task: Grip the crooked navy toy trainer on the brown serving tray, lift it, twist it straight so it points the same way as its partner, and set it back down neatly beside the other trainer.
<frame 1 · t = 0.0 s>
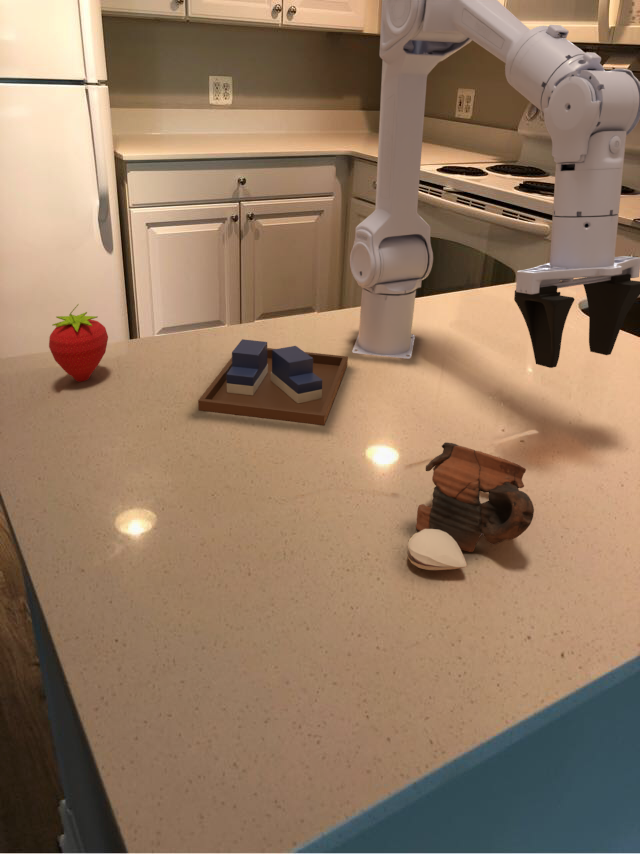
hand: (573, 359, 70), 11 cm above the counter, tool pointing down, fingers open, 7 cm apart
trainer: (295, 389, 84), point 1 cm above the counter, touching brown serving tray
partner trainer: (247, 382, 86), point 1 cm above the counter, touching brown serving tray
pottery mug: (473, 529, 62), on the counter
white teardrop shell: (436, 566, 57), on the counter
strawberry: (84, 384, 85), on the counter
brown serving tray: (278, 390, 85), on the counter
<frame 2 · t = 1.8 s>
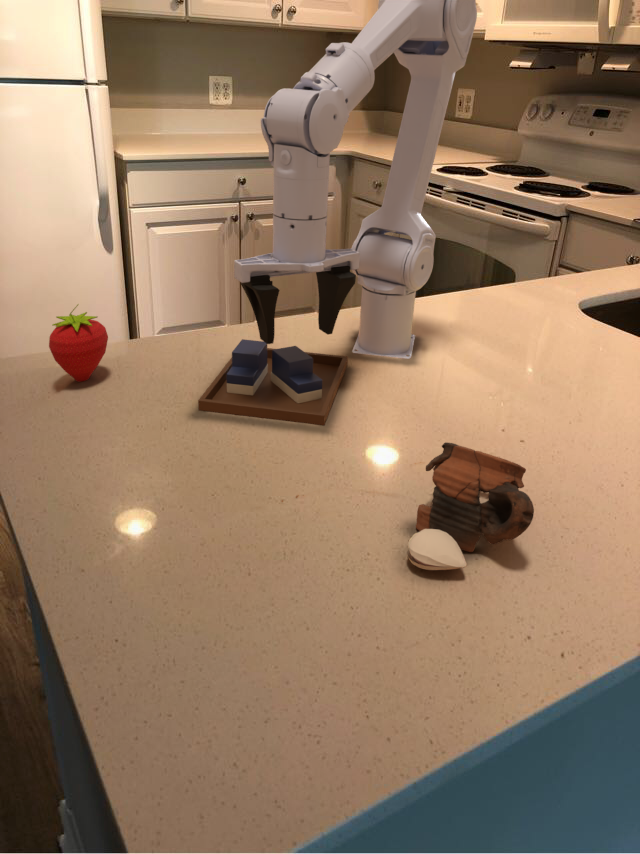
hand: (296, 336, 81), 7 cm above the counter, tool pointing down, fingers open, 7 cm apart
nothing on the counter moved.
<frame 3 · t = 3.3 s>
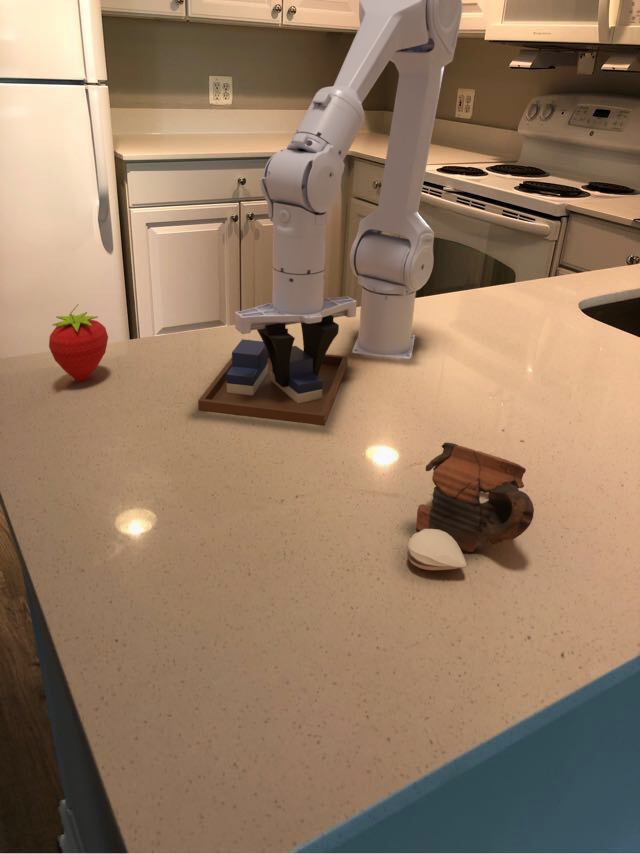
hand: (295, 381, 84), 2 cm above the counter, tool pointing down, fingers closed on trainer, 3 cm apart
trainer: (295, 389, 84), point 1 cm above the counter, touching gripper, brown serving tray
everything else where it was.
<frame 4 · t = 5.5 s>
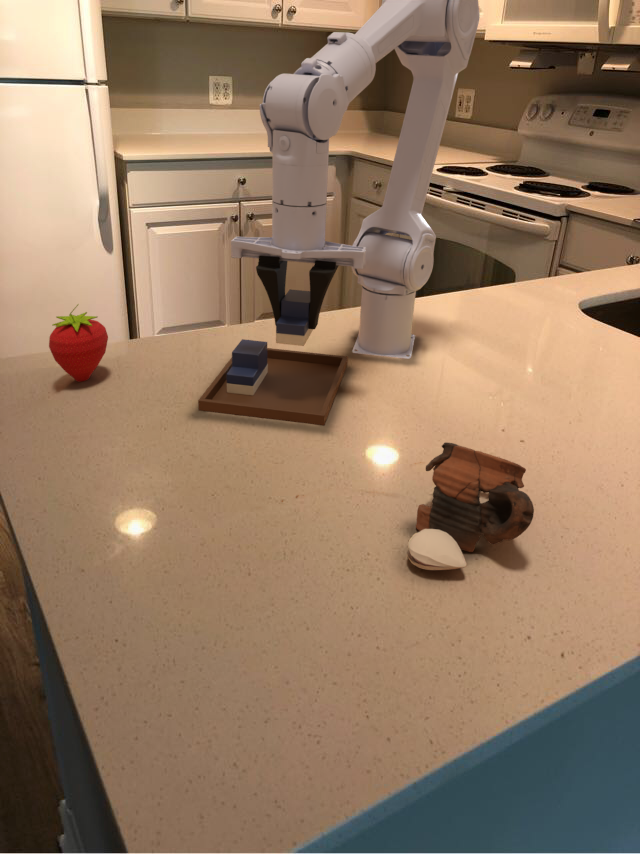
hand: (296, 324, 81), 9 cm above the counter, tool pointing down, fingers closed on trainer, 3 cm apart
trainer: (296, 334, 81), point 8 cm above the counter, touching gripper
everything else where it was.
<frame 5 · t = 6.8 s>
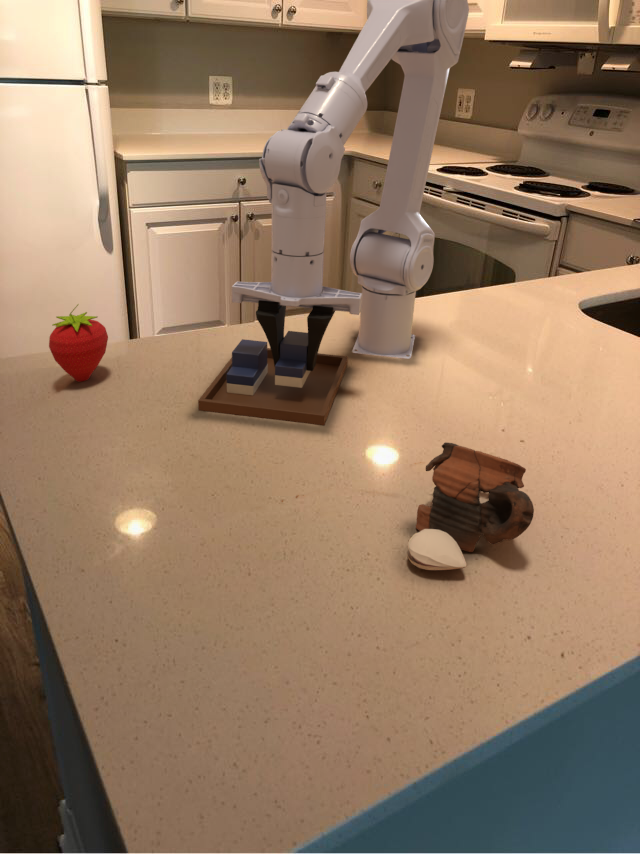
hand: (294, 365, 83), 4 cm above the counter, tool pointing down, fingers closed on trainer, 3 cm apart
trainer: (294, 374, 84), point 2 cm above the counter, touching gripper
everything else where it was.
when the fingers open (2 cm above the counter, at t = 7.8 s): trainer stays where it is, resting on brown serving tray.
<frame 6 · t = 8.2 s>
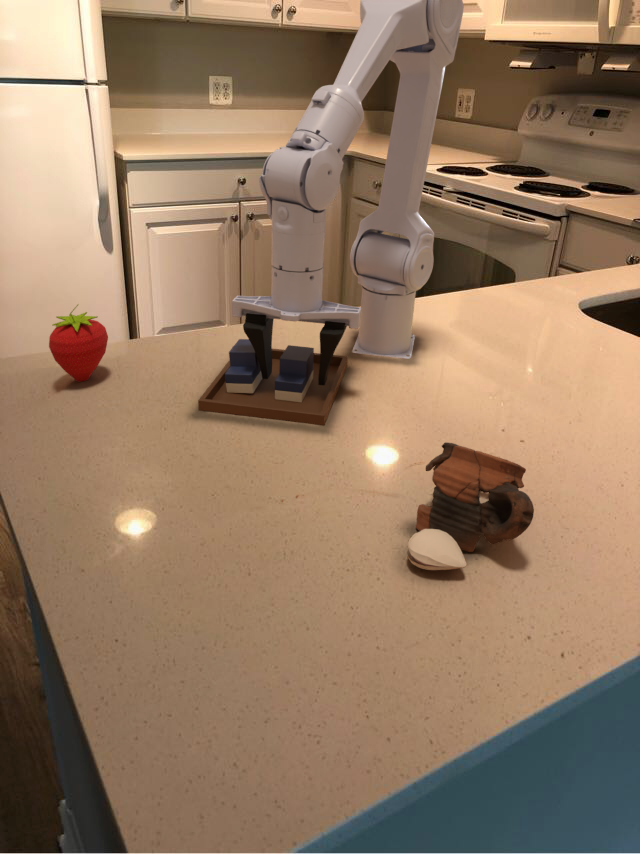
hand: (294, 378, 84), 2 cm above the counter, tool pointing down, fingers open, 6 cm apart
trainer: (294, 388, 85), point 1 cm above the counter, touching brown serving tray
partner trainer: (247, 381, 86), point 1 cm above the counter, tilted 5°, touching gripper, brown serving tray
everything else where it was.
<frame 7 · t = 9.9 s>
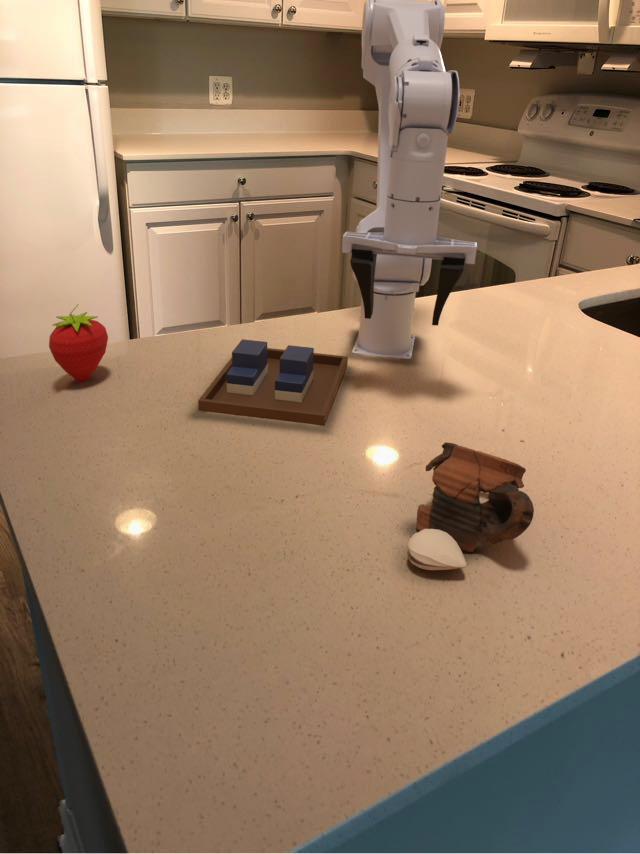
hand: (401, 319, 82), 9 cm above the counter, tool pointing down, fingers open, 7 cm apart
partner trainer: (247, 382, 86), point 1 cm above the counter, touching brown serving tray
everything else where it was.
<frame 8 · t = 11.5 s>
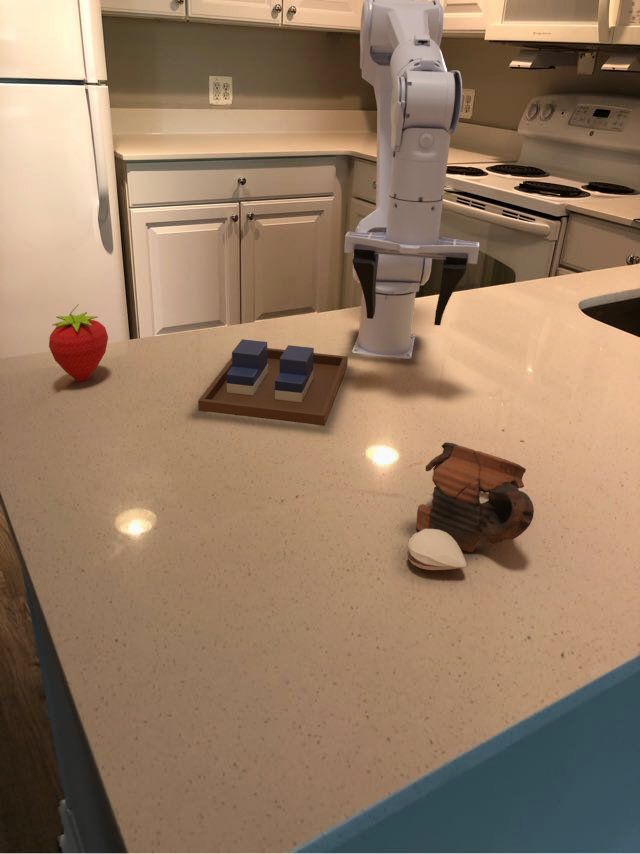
hand: (403, 319, 82), 9 cm above the counter, tool pointing down, fingers open, 7 cm apart
nothing on the counter moved.
at the end: trainer 0.2 cm from the target spot in the brown serving tray, point 0.6 cm above the brown serving tray's base; trainer tilted 0°; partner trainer moved 0.0 cm from its start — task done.
